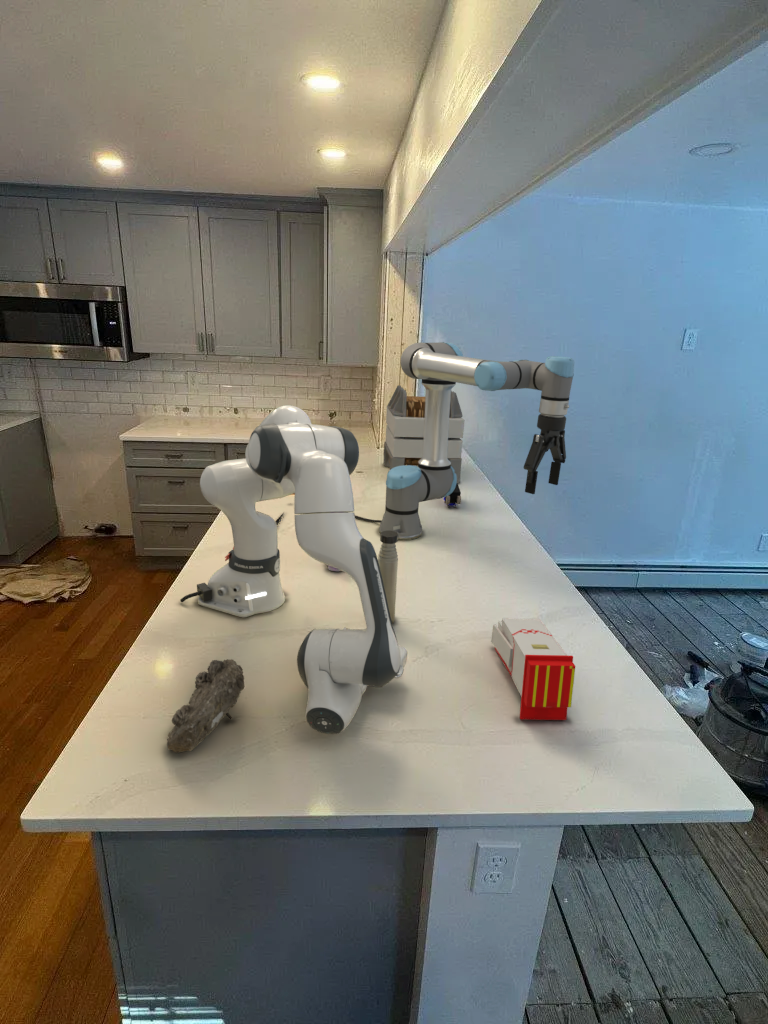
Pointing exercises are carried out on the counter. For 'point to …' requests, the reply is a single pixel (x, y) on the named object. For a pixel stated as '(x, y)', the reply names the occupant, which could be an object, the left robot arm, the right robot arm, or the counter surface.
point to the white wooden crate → (418, 431)
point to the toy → (535, 667)
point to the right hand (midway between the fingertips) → (541, 488)
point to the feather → (279, 518)
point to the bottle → (389, 574)
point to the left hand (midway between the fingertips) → (367, 634)
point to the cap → (388, 537)
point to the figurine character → (453, 497)
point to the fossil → (206, 705)
